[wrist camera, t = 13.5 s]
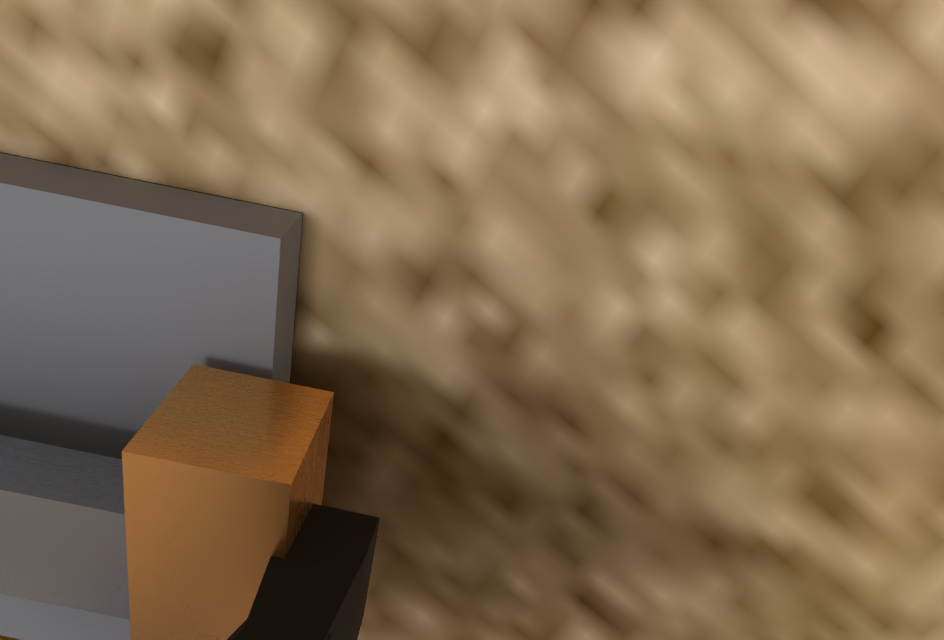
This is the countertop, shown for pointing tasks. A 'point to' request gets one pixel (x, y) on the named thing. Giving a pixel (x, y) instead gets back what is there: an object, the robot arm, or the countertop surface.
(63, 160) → the countertop surface
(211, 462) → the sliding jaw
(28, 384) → the vise base
